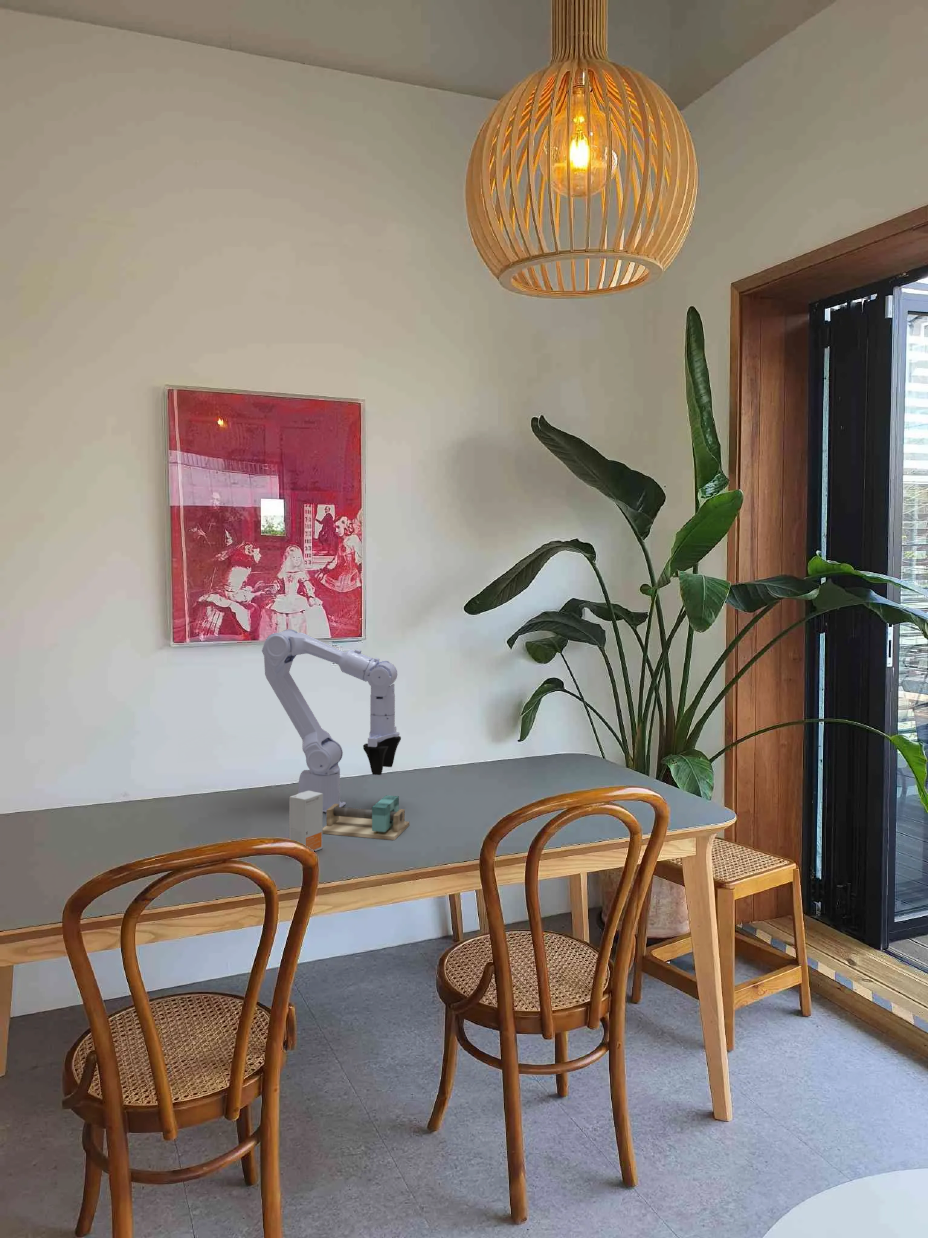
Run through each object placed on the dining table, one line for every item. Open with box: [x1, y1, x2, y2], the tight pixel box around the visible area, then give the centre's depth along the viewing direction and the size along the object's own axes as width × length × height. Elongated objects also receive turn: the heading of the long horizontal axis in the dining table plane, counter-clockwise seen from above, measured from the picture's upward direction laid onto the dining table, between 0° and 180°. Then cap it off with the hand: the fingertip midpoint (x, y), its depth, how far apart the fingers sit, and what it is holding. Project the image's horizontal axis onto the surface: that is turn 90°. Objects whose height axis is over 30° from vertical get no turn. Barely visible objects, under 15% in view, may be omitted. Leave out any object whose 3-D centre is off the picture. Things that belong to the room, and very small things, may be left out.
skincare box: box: [288, 791, 324, 852], centre depth 202 cm, size 6×4×12 cm
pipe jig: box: [322, 804, 410, 841], centre depth 217 cm, size 17×11×5 cm, turn 76°
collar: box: [371, 794, 400, 832], centre depth 216 cm, size 3×10×5 cm, turn 166°
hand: (382, 770), depth 230 cm, fingers open, 7 cm apart
